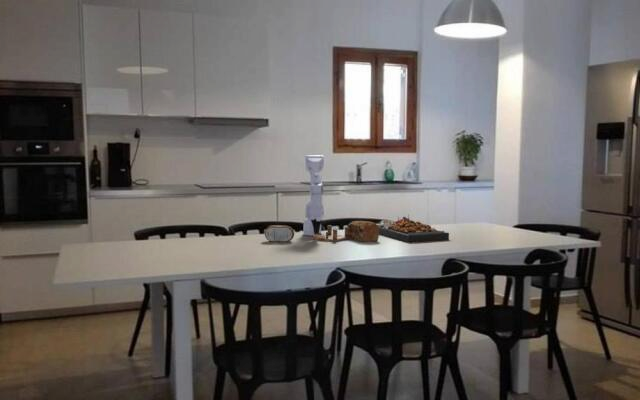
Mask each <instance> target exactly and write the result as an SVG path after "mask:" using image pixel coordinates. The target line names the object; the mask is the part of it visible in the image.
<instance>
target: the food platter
mask: <svg viewBox="0 0 640 400" xmlns="http://www.w3.org/2000/svg"><path fill="white" fill-rule="evenodd" d="M407 217H408V218H407ZM407 217H406V216H402V218H400V217H399V216H397V220H395V221H394V220H391V219H389V218H388V219H387V218H385V219H382V220H381V221H378V222H374V223H375V224H376V225H378V226H379V227H378V228H379V236H383V237H387V238H389V239H394V240H397V241H400V242H404V243H407V244H411V243H413V242H414V243H426V242H439V241H440V242H441V241H442V242H443V241H449V240H450V233H449V232H446V231H444V230H437V229H436V228H435V227H432V226H431V225H429V224H423V223H422V222H421V221H414V220H411V219H410V214H407Z"/></svg>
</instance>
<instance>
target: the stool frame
mask: <svg viewBox="0 0 640 400" xmlns="http://www.w3.org/2000/svg"><path fill="white" fill-rule="evenodd" d="M322 234H323V233H322V232H321V233H319V234H318V236H325V238H313V240H314V241H323V242H324V241H325V242H332V243H338V242H343V241H346V240H347V241H348V240H350V239H351V236H349V227H347V226H345V227H344V235H340V234H338V228H337V229H336V228H334V229H332V225H331V224H329V225H327V231H326V232H325V234H324V235H322ZM351 240H352V239H351Z"/></svg>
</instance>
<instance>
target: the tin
mask: <svg viewBox="0 0 640 400" xmlns="http://www.w3.org/2000/svg"><path fill="white" fill-rule="evenodd" d="M264 237H265V239H266V240H267V241H269V242H273V243H289V242H290V241H292V240H293V239H294V237H295V230H294V228H292V227H291V226H289V225H279V224H278V225H277V224H276V225H275V224H274V225H273V224H272V225H268V226H267V227H266V229H265V230H264Z"/></svg>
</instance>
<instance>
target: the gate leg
mask: <svg viewBox="0 0 640 400" xmlns="http://www.w3.org/2000/svg"><path fill="white" fill-rule="evenodd" d="M312 237H313V239H314V238H325V236H318V234H314V230H313V236H312Z"/></svg>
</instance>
